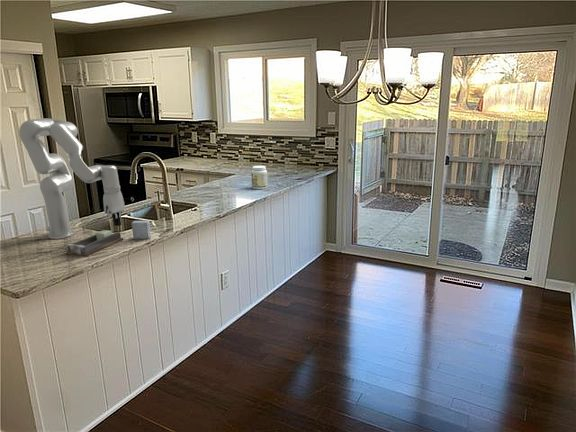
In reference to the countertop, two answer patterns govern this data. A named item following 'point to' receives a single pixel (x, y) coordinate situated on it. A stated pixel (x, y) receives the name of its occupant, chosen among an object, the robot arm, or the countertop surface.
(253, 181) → the supplement tub
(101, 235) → the block
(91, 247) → the chute
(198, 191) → the countertop surface
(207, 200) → the countertop surface
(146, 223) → the medicine box
